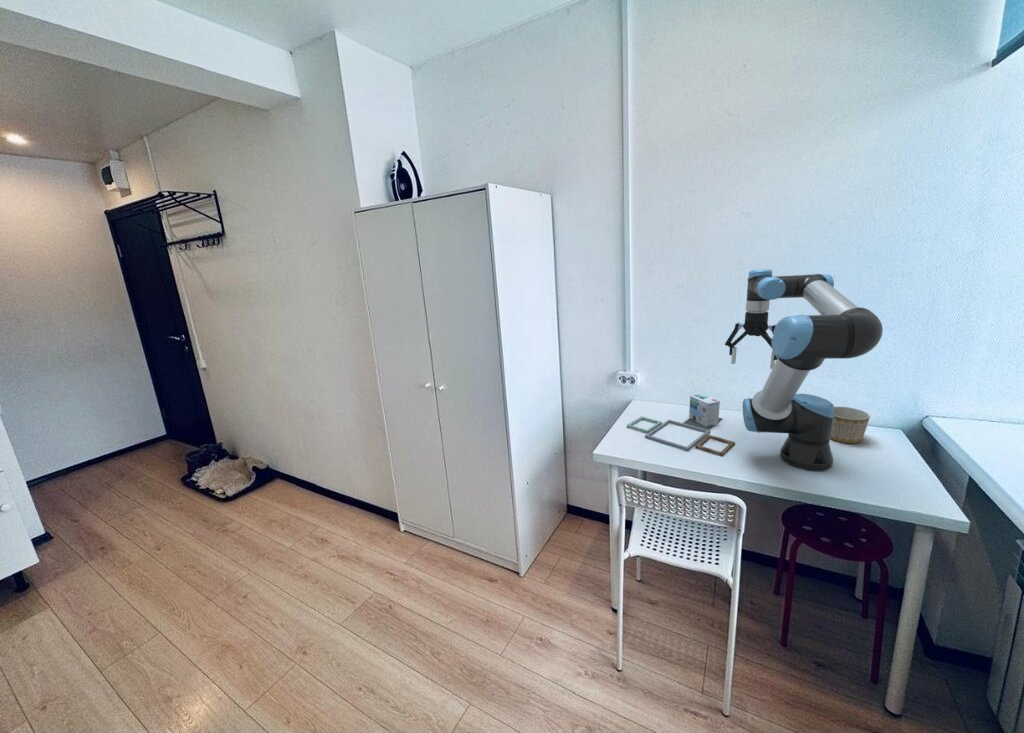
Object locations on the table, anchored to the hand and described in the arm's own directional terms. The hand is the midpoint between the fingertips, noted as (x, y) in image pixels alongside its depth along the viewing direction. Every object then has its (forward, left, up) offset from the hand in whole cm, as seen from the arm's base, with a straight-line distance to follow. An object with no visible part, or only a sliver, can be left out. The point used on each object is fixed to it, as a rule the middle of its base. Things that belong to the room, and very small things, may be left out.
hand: (752, 365), depth 159 cm
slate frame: (+19, +20, -28) cm, 40 cm away
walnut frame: (+4, +20, -28) cm, 35 cm away
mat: (+17, +1, -28) cm, 33 cm away
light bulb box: (+17, +1, -28) cm, 33 cm away
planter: (-29, -16, -28) cm, 43 cm away
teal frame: (+34, +20, -28) cm, 49 cm away
